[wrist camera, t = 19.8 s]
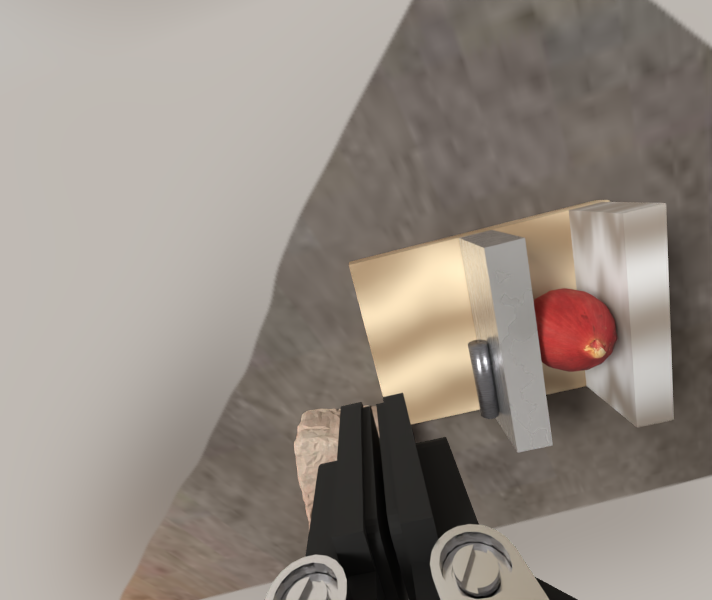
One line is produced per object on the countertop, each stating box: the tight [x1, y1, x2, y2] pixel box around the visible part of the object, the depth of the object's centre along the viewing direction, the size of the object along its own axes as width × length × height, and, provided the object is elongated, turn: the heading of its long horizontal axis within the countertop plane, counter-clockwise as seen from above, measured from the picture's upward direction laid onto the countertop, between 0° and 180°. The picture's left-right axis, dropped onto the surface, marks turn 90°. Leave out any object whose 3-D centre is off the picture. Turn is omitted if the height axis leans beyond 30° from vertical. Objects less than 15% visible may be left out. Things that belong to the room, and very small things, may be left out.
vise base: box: [349, 200, 674, 427], centre depth 29 cm, size 15×20×8 cm
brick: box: [294, 406, 380, 529], centre depth 35 cm, size 17×8×5 cm, turn 6°
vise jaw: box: [459, 230, 553, 453], centre depth 28 cm, size 15×4×6 cm, turn 14°
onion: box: [534, 288, 617, 372], centre depth 27 cm, size 6×6×8 cm
